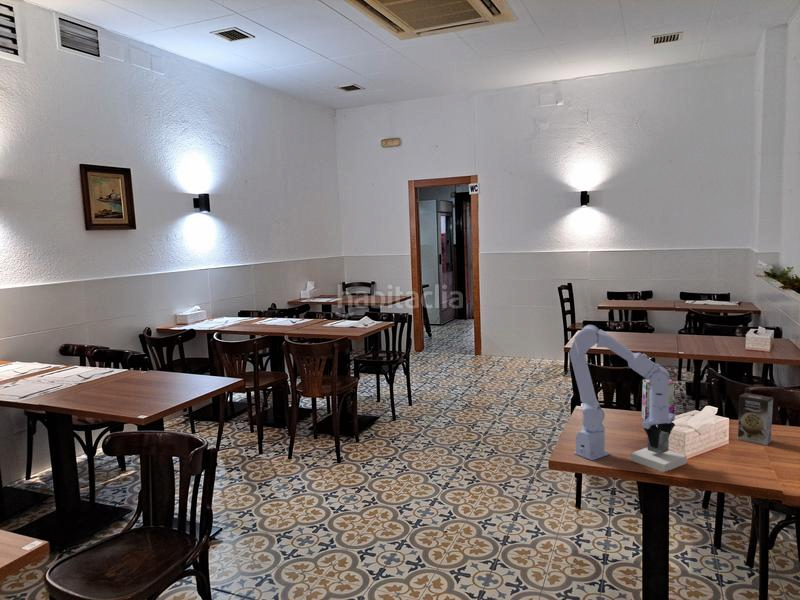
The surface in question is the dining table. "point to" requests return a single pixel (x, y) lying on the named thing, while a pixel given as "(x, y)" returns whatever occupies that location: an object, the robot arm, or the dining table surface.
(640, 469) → the dining table surface
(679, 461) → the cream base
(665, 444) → the grey block
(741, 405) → the coffee box
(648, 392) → the candy bar box
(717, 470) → the dining table surface
